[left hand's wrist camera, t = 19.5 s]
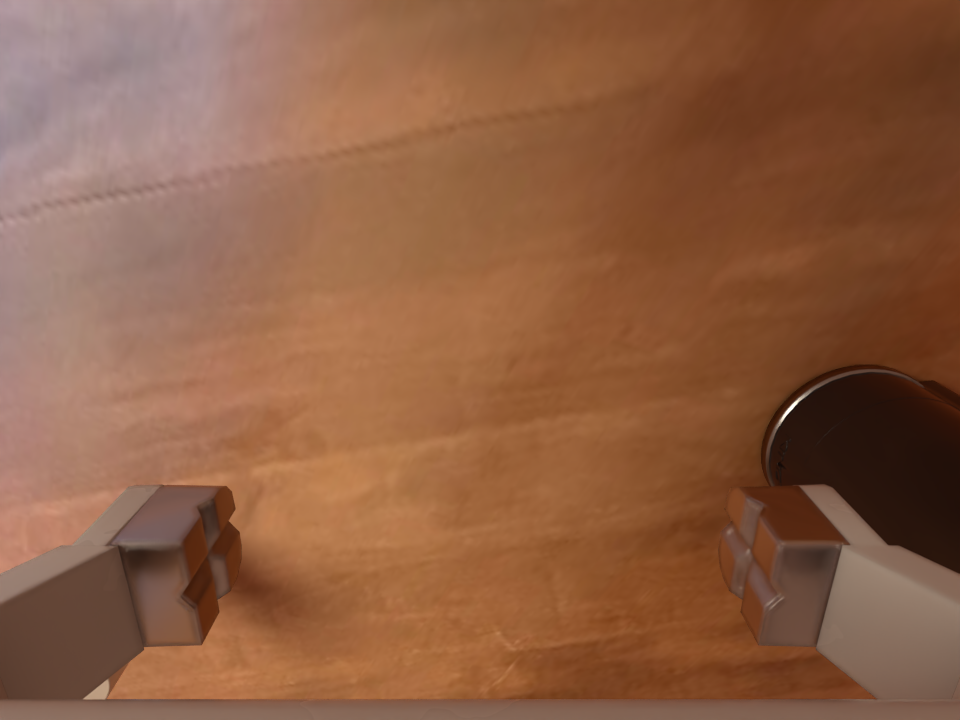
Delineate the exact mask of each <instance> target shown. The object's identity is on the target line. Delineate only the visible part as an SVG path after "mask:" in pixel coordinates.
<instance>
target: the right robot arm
mask: <svg viewBox="0 0 960 720" xmlns="http://www.w3.org/2000/svg"><path fill="white" fill-rule="evenodd" d="M761 463H762V469H763V472H764V476H765V478H766V480H767V482H768V484H769V486H793V485H817V484H825V485H827V486H830V487H832V488H833V489H834V490H835V491H836V492H837V493H838V494H839V495H840V496H841V497H842V498H843V499H844V500H845V501H846V502H847V503H848V504H849V505H850V506H851V507H852V508H853V509H854V510H855V511H856V513H857V514H858V515H859V516H860V517H861V518H862V519H863V520H864V521H865V522H866V523H867V524H868V525H869V526H870V527H871V528H872V529H873V530H874V531H875V532H876V533H877V534H878V535H879V536H880V537H881V538H882V540H883V541H884V542H885V543H886V544H887V545H890V546H901V547H903V548H905V549H907V550H909V551H911V552H913V553H916V554H918V555H920V556H922V557H924V558H926V559H928V560H931V561H933V562H935V563H937V564H939V565H941V566H944V567H946V568H948V569H950V570H952V571H954V572H956V573H959V574H960V396H959V395H958V394H956V393H954V392H952V391H951V390H949V389H947V388H946V387H944V386H942V385H940V384H939V383H937V382H935V381H925V382H917V381H916V380H914V379H912V378H911V377H909V376H907V375H905V374H904V373H902V372H900V371H897V370H895V369H892V368H888V367H884V366H878V365H855V366H849V367H843V368H840V369H836V370H833V371H830V372H828V373H825V374H823V375H821V376H818V377H816V378H815V379H813V380H811V381H809V382H808V383H806V384H805V385H803V386H802V387H800V388H799V389H798V390H797V391H795V392H794V393H793V394H792V395H791V396H790V397H789V398H788V399H787V400H786V401H785V402H784V403H783V404H782V405H781V406H780V408H779V409H778V410H777V412H776V413H775V415H774V416H773V418H772V419H771V421H770V423H769V425H768V427H767V430H766V433H765V435H764V439H763V443H762V450H761Z"/></svg>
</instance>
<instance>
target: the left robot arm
mask: <svg viewBox="0 0 960 720" xmlns="http://www.w3.org/2000/svg"><path fill="white" fill-rule="evenodd" d="M234 511H235V504H234V499H233V495H232V491H231V490H230V489H229V488H228V487H227V486H197V485H134V486H130V487H128V488H127V489H126V490H125V491H124V492H123V493H122V494H121V495H120V496H119V497H118V498H117V499H116V500H115V501H114V502H113V503H112V504H111V505H110V506H109V507H108V508H107V510H106V511H105V512H104V513H103V514H102V515H101V516H100V517H99V518H98V519H97V520H96V521H95V522H94V523H93V524H92V525H91V526H90V527H89V528H88V529H87V530H86V531H85V532H84V533H83V534H82V535H81V536H80V537H79V539H78V540H77V541H76V542H75V543H74V544H73V545H70V546H59V547H57V548H55V549H53V550H51V551H49V552H46V553H44V554H42V555H40V556H38V557H36V558H34V559H31V560H29V561H27V562H25V563H23V564H21V565H18V566H16V567H14V568H12V569H10V570H8V571H6V572H3V573H1V574H0V720H960V574H959V573H956V572H954V571H952V570H950V569H948V568H946V567H944V566H941V565H939V564H937V563H935V562H933V561H931V560H928V559H926V558H924V557H922V556H920V555H918V554H916V553H913V552H911V551H909V550H907V549H905V548H903V547H901V546H890V545H887V544H886V543H885V542H884V541H883V540H882V538H881V537H880V536H879V535H878V534H877V533H876V532H875V531H874V530H873V529H872V528H871V527H870V526H869V525H868V524H867V523H866V522H865V521H864V520H863V519H862V518H861V517H860V516H859V515H858V514H857V513H856V511H855V510H854V509H853V508H852V507H851V506H850V505H849V504H848V503H847V502H846V501H845V500H844V499H843V498H842V497H841V496H840V495H839V494H838V493H837V492H836V491H835V490H834V489H833V488H832V487H830V486H827V485H825V484H817V485H793V486H758V487H731V488H730V490H729V492H728V495H727V498H726V503H725V511H726V512H727V514H728V516H729V517H730V519H731V522H730V523H729V524H728V525H727V526H726V527H725V528H724V529H723V530H722V531H721V533H720V540H719V548H718V552H719V563H720V569H721V572H722V576H723V579H724V581H725V583H726V585H727V587H728V589H729V591H730V592H732V593H733V594H735V595H736V596H738V597H739V598H741V599H742V600H743V601H742V607H741V614H742V616H743V617H744V619H745V621H746V623H747V625H748V627H749V629H750V630H751V632H752V634H753V636H754V638H755V640H756V642H757V643H758V645H768V646H804V647H816V650H817V651H818V652H820V653H821V654H822V655H823V656H825V657H826V658H827V659H828V660H829V661H831V662H832V663H833V664H834V665H836V666H837V667H838V668H839V669H841V670H842V671H843V672H844V673H846V674H847V675H848V676H849V677H851V678H852V679H853V680H854V681H856V682H857V683H858V684H859V685H860V686H862V687H863V688H864V689H865V690H867V691H868V692H869V693H870V694H872V695H873V696H874V697H875V698H877V699H84V698H85V697H86V696H87V695H89V694H90V693H91V692H92V691H94V690H95V689H96V688H97V687H98V686H100V685H101V684H102V683H103V682H105V681H106V680H107V679H108V678H110V677H111V676H112V675H113V674H115V673H116V672H117V671H118V670H120V669H121V668H122V667H123V666H125V665H126V664H127V663H128V662H130V661H131V660H132V659H133V658H135V657H136V656H137V655H138V654H139V653H141V652H142V651H143V650H144V647H156V646H190V645H202V644H203V642H204V640H205V638H206V636H207V634H208V632H209V630H210V629H211V627H212V625H213V623H214V621H215V619H216V617H217V616H218V614H219V607H218V601H217V600H218V599H219V598H221V597H222V596H224V595H225V594H227V593H228V592H230V591H231V589H232V587H233V585H234V583H235V581H236V579H237V576H238V572H239V567H240V563H241V539H240V533H239V531H238V530H237V529H236V528H235V527H234V526H233V525H232V524H231V523H230V522H229V519H230V517H231V516H232V514H233V512H234Z"/></svg>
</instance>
